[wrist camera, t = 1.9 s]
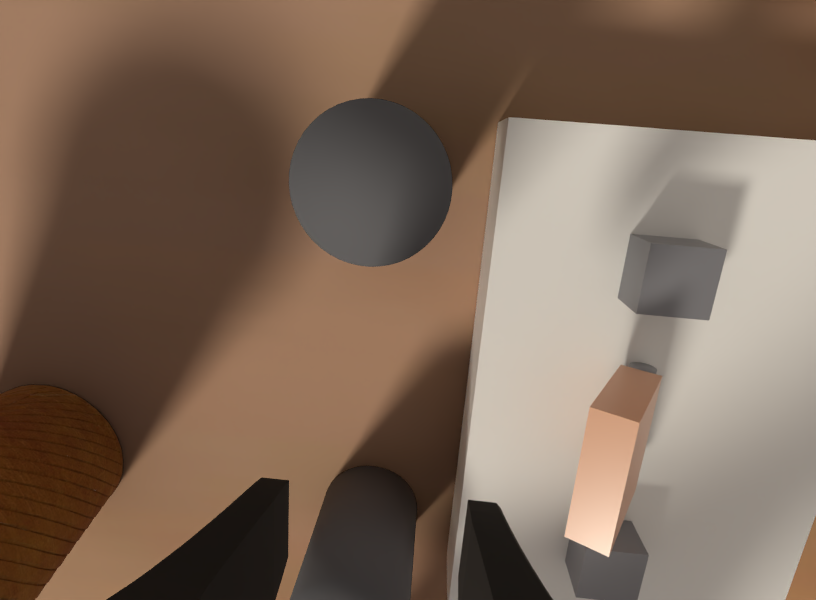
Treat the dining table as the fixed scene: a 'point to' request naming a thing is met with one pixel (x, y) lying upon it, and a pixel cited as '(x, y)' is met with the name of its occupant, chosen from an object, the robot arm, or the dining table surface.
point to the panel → (648, 354)
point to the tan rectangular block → (612, 456)
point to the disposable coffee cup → (49, 481)
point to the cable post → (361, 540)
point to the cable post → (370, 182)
